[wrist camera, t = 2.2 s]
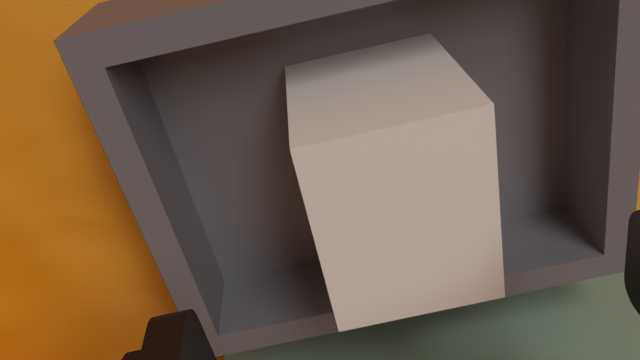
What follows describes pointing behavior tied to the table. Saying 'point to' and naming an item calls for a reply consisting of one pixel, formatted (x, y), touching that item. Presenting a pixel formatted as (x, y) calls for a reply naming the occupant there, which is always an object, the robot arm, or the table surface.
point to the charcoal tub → (274, 150)
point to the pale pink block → (397, 180)
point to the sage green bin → (491, 330)
